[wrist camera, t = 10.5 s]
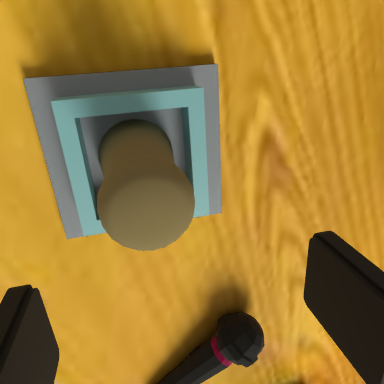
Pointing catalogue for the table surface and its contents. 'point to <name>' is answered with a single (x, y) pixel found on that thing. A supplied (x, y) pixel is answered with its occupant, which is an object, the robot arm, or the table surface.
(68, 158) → the socket
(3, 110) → the table surface
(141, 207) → the cork
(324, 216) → the table surface
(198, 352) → the microphone
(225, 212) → the table surface
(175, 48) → the table surface
